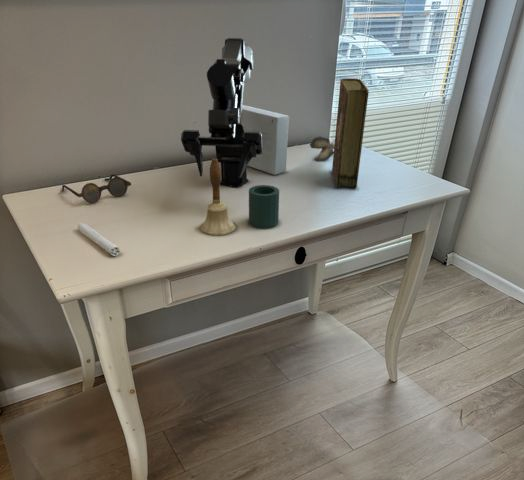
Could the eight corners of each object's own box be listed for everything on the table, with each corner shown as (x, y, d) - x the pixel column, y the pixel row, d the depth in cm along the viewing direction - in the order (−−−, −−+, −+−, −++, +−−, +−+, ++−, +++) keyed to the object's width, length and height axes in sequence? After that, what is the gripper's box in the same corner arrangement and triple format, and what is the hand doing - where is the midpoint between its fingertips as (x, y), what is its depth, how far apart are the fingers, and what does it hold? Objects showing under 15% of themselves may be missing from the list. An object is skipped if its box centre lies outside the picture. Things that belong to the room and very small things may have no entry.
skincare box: (287, 172, 150) (290, 115, 140) (274, 175, 147) (276, 118, 137) (241, 156, 162) (240, 103, 152) (228, 159, 159) (227, 105, 149)
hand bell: (194, 226, 118) (188, 157, 108) (223, 218, 122) (221, 151, 112) (212, 239, 112) (207, 167, 103) (242, 230, 116) (241, 160, 106)
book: (331, 170, 151) (340, 78, 136) (349, 170, 151) (360, 78, 136) (336, 189, 138) (346, 89, 123) (356, 189, 138) (369, 90, 123)
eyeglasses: (81, 206, 127) (76, 187, 124) (58, 190, 136) (54, 172, 133) (132, 194, 134) (130, 175, 131) (108, 179, 143) (105, 161, 140)
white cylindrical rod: (75, 230, 115) (73, 220, 114) (83, 227, 116) (81, 218, 115) (111, 257, 105) (109, 247, 103) (120, 254, 106) (118, 244, 104)
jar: (243, 224, 119) (243, 192, 114) (258, 215, 123) (258, 183, 118) (269, 231, 116) (269, 197, 111) (283, 220, 121) (284, 188, 116)
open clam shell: (316, 147, 166) (304, 149, 159) (330, 130, 162) (317, 130, 155) (331, 164, 165) (319, 166, 158) (345, 147, 161) (334, 148, 154)
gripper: (178, 91, 110) (173, 157, 108) (261, 93, 109) (258, 160, 107) (188, 120, 121) (183, 181, 119) (263, 122, 120) (260, 183, 118)
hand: (220, 176), depth 116 cm, fingers open, 9 cm apart
